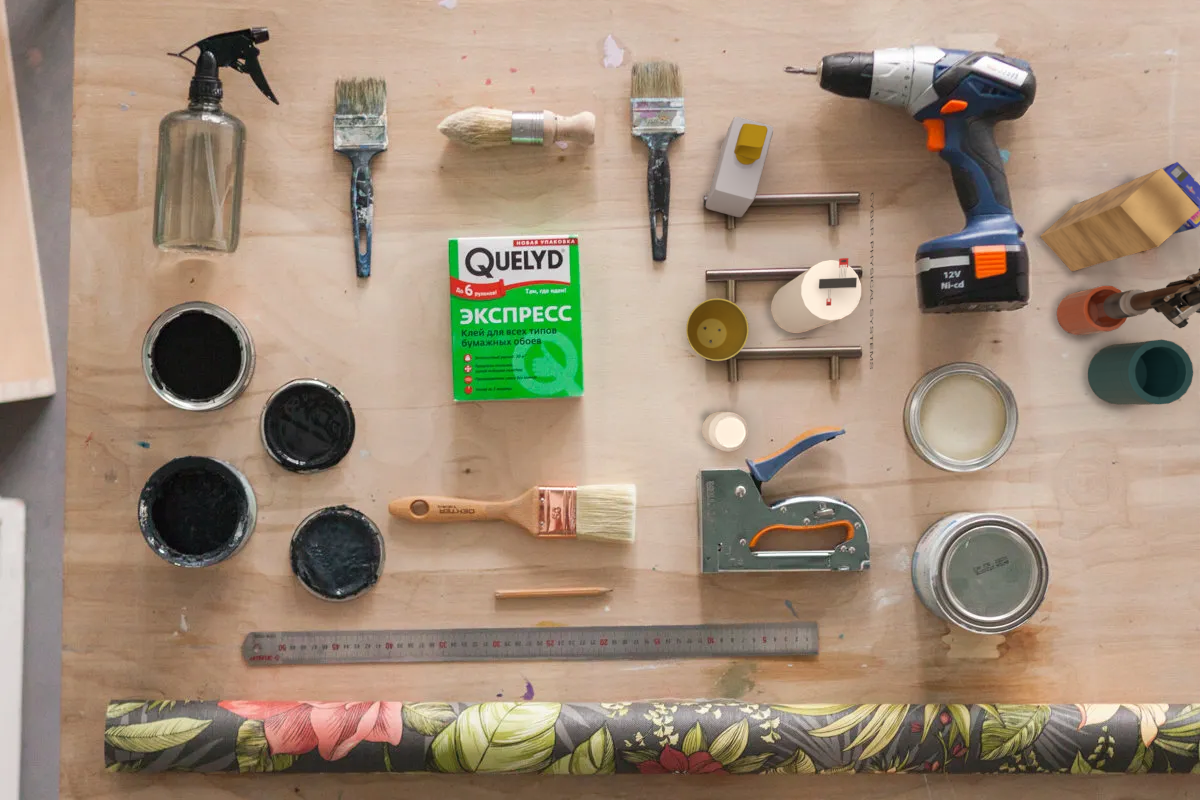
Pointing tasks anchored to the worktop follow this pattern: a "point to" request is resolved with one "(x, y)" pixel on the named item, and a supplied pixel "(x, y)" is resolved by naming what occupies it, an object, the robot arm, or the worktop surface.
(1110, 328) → the brush pot
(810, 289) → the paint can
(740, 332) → the flower pot
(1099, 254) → the riser
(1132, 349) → the jar
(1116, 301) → the brush
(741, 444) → the cream round cylinder
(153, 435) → the worktop surface
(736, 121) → the soap bottle
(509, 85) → the worktop surface
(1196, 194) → the ink cartridge box
